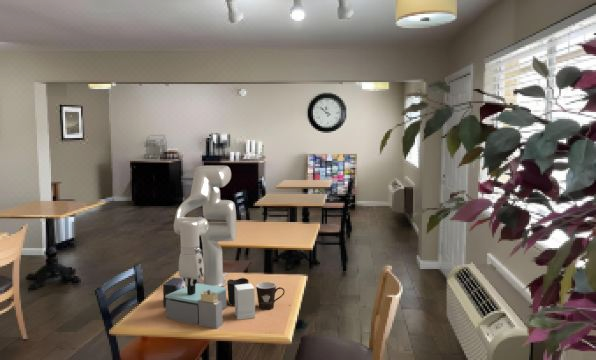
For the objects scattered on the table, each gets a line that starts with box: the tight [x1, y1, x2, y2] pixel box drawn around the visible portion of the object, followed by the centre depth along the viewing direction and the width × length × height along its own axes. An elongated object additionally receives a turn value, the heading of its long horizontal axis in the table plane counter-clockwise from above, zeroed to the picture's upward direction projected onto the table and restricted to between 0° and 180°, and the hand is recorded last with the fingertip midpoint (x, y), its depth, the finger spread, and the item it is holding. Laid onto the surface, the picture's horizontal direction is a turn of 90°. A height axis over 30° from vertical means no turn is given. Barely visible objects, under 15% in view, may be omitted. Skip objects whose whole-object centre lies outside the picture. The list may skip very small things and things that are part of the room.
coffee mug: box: [255, 281, 286, 311], centre depth 214 cm, size 12×9×10 cm
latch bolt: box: [201, 290, 218, 303], centre depth 196 cm, size 3×6×4 cm, turn 64°
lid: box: [165, 282, 227, 304], centre depth 209 cm, size 20×16×1 cm
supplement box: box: [234, 283, 256, 320], centre depth 206 cm, size 7×7×13 cm
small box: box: [162, 276, 187, 308], centre depth 221 cm, size 11×6×10 cm, turn 168°
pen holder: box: [226, 277, 249, 307], centre depth 221 cm, size 9×9×10 cm
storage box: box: [165, 290, 227, 329], centre depth 207 cm, size 20×25×10 cm
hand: (191, 293), depth 205 cm, fingers closed
